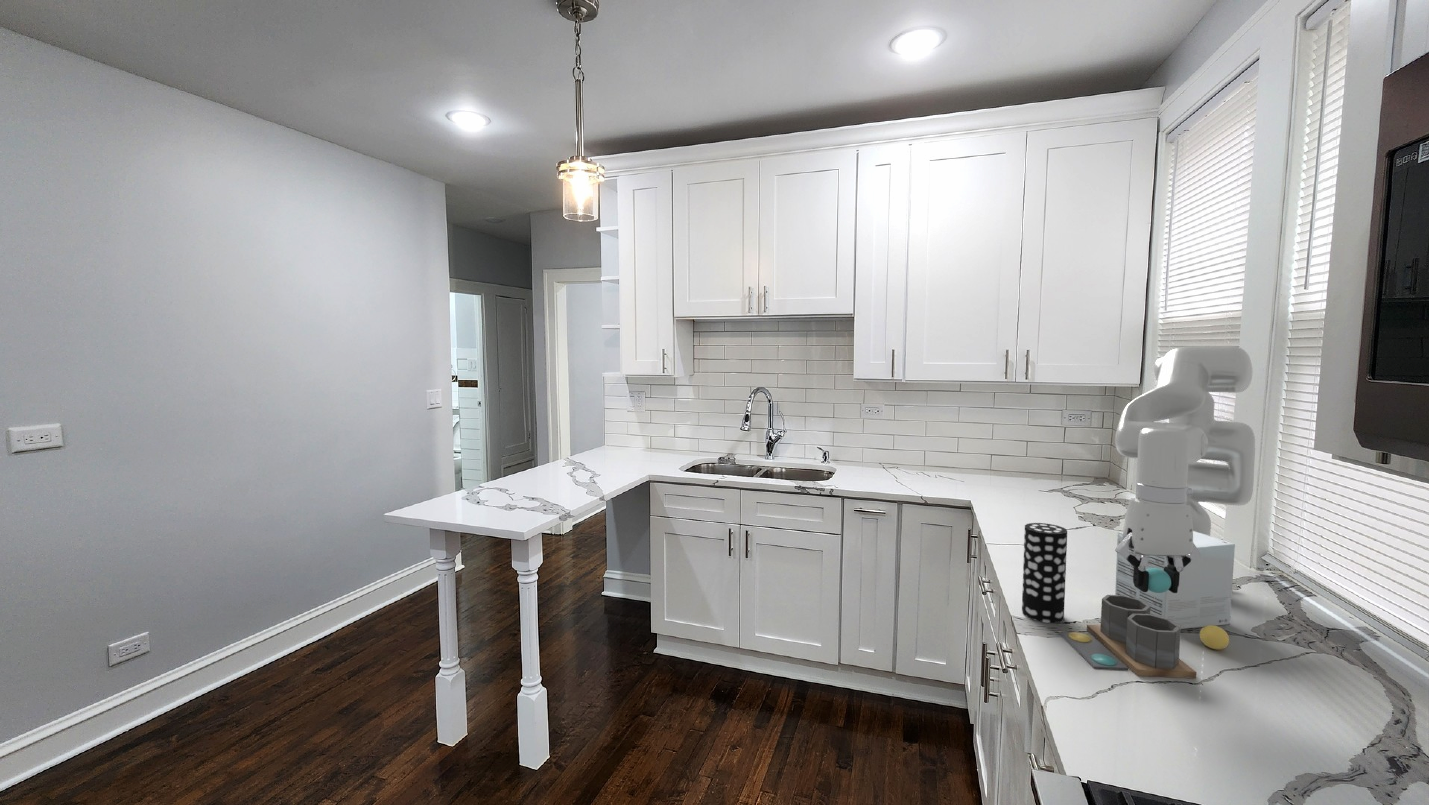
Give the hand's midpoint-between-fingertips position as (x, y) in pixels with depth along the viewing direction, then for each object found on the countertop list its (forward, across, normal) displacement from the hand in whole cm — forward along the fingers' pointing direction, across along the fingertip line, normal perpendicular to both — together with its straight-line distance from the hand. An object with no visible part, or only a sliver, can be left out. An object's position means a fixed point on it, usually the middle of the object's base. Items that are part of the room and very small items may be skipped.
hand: (1155, 588), depth 111 cm
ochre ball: (+15, -16, -8) cm, 23 cm away
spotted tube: (+15, +11, -21) cm, 28 cm away
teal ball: (+1, 0, 0) cm, 1 cm away
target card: (+15, +8, -5) cm, 18 cm away
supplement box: (+15, -17, -23) cm, 32 cm away
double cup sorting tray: (+15, 0, -5) cm, 16 cm away
